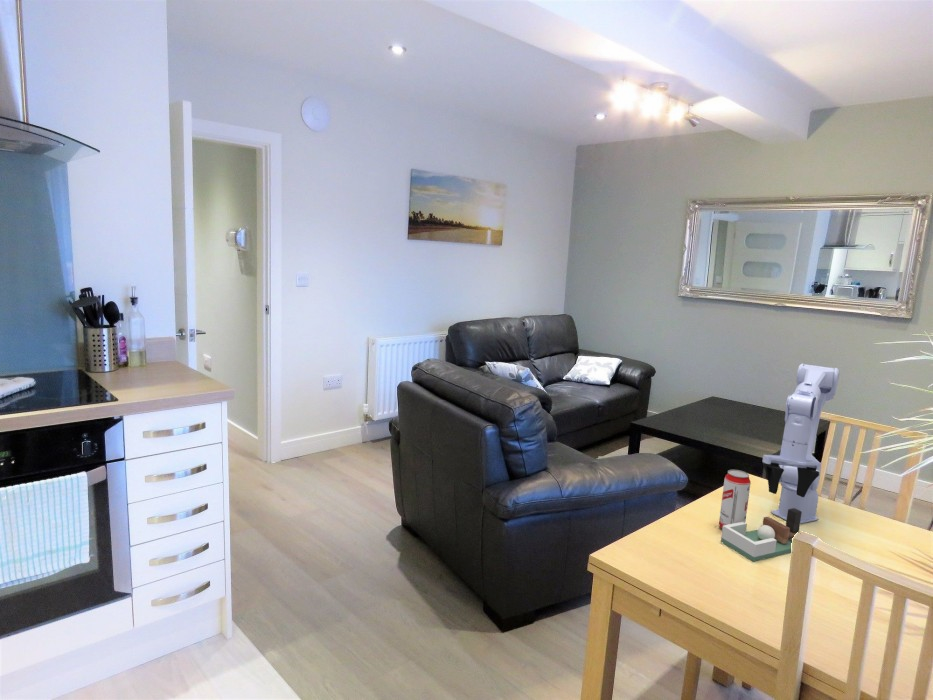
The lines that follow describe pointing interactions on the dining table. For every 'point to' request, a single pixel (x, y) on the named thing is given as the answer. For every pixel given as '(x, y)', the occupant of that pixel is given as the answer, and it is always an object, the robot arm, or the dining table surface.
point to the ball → (765, 532)
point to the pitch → (752, 543)
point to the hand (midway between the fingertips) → (786, 494)
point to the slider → (785, 531)
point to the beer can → (734, 498)
